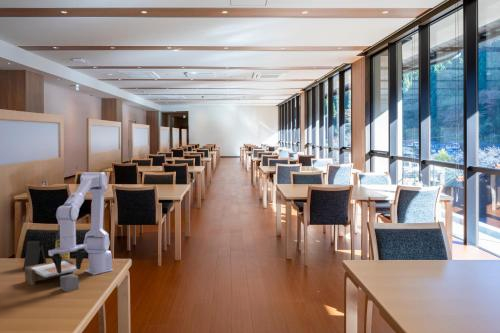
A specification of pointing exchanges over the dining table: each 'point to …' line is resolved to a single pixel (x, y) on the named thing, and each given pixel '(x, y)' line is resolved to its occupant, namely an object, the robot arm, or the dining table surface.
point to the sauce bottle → (64, 255)
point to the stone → (69, 282)
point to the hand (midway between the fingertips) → (68, 270)
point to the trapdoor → (54, 269)
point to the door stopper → (34, 254)
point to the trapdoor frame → (32, 276)
